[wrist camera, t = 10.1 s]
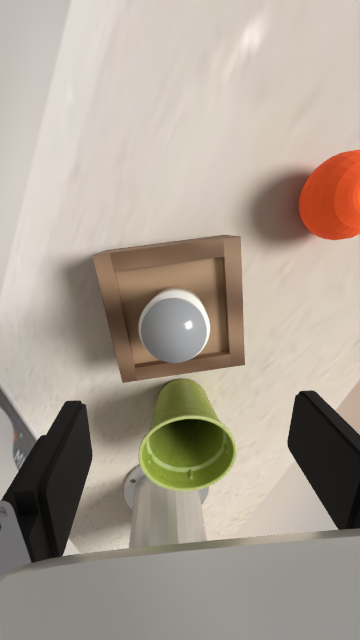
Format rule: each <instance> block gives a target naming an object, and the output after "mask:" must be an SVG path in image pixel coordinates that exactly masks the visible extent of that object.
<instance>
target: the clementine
mask: <svg viewBox="0 0 360 640" xmlns="http://www.w3.org/2000/svg"><path fill="white" fill-rule="evenodd" d="M299 213H300V217H301V219H302V221H303V223H304V225H305V226H306V228H307V229H308V230H309V231H310V232H311V233H312V234H314V235H317V236H319V237H321V238H324V239H330V240H339V239H346V238H352V237H354V236H356V235H359V234H360V150H355V151H348V152H343V153H340V154H338V155H336V156H333V157H331V158H330V159H328V160H327V161H325V162H324V163H322V164H321V165H320V166H319V167H317V168H316V169H315V170H314V172H313V173H312V174H311V175H310V177H309V178H308V179H307V181H306V183H305V185H304V187H303V189H302V191H301V195H300V199H299Z"/></svg>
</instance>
